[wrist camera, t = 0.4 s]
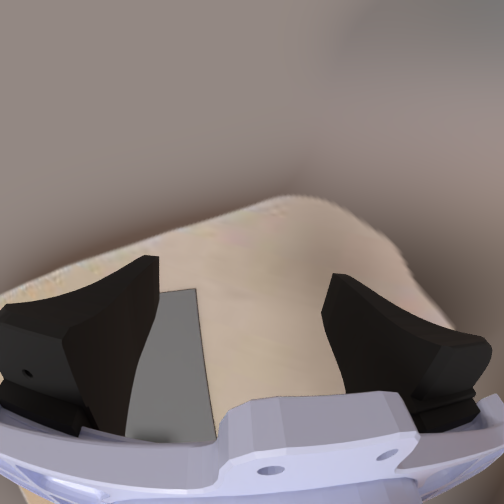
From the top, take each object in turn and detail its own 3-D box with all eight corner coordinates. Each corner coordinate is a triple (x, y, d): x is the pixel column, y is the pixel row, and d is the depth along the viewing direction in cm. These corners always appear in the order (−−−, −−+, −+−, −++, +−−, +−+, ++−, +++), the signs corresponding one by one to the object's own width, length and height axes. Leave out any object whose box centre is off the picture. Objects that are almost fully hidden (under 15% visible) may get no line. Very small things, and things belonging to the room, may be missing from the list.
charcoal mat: (217, 441, 34) (216, 442, 34) (95, 436, 34) (93, 436, 34) (195, 289, 40) (194, 288, 40) (77, 302, 40) (76, 302, 40)
